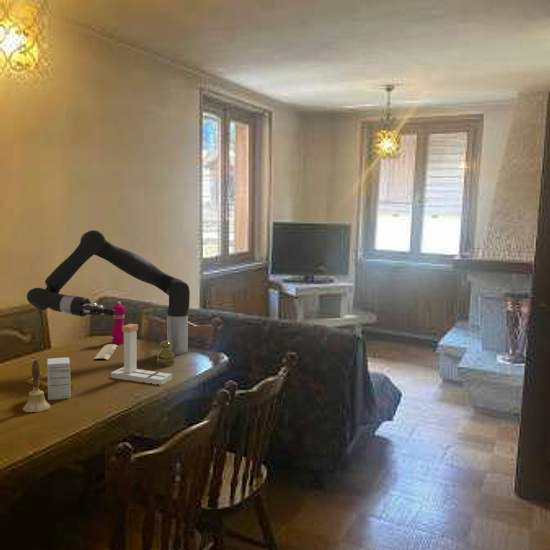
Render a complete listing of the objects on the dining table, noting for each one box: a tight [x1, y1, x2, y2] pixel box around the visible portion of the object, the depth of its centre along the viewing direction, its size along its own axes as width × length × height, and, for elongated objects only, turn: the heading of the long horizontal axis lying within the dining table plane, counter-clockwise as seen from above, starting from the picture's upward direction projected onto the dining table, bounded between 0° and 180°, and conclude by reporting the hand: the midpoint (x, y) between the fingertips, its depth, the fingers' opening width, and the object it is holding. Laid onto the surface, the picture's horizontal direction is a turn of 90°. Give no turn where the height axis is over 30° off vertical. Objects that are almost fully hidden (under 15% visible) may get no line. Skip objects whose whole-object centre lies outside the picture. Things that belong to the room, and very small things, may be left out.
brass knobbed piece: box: [156, 339, 176, 367], centre depth 234 cm, size 7×7×10 cm
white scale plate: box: [110, 366, 173, 386], centre depth 215 cm, size 8×22×2 cm, turn 72°
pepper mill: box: [111, 300, 126, 345], centre depth 266 cm, size 7×7×20 cm
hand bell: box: [22, 359, 51, 414], centre depth 180 cm, size 8×8×16 cm
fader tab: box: [122, 323, 139, 373], centre depth 215 cm, size 6×4×18 cm, turn 162°
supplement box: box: [46, 357, 72, 401], centre depth 193 cm, size 7×7×13 cm
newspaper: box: [93, 343, 118, 361], centre depth 249 cm, size 24×7×2 cm, turn 6°
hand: (114, 312), depth 216 cm, fingers closed
